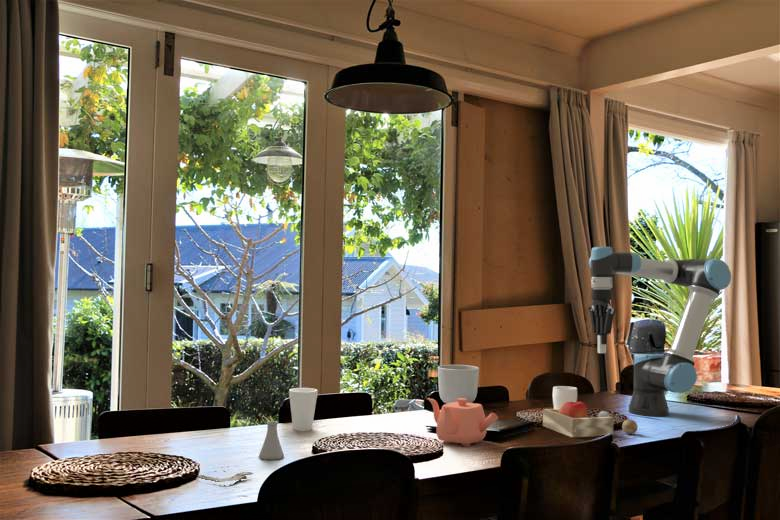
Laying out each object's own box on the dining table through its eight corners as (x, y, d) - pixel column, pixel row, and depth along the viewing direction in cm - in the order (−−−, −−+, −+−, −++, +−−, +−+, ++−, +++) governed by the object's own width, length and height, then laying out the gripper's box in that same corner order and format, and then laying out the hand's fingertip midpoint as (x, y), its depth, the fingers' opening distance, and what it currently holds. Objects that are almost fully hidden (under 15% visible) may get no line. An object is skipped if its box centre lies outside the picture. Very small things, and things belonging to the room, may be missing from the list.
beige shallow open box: (581, 424, 277) (582, 407, 277) (613, 435, 259) (613, 417, 259) (542, 426, 272) (543, 409, 272) (572, 437, 254) (572, 419, 254)
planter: (433, 400, 321) (434, 364, 321) (473, 401, 323) (474, 364, 323) (440, 408, 304) (441, 369, 304) (482, 408, 306) (483, 370, 306)
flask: (259, 454, 221) (260, 419, 221) (285, 454, 221) (285, 419, 221) (257, 460, 213) (258, 424, 214) (283, 460, 214) (284, 424, 214)
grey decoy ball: (605, 422, 283) (605, 409, 283) (612, 424, 278) (613, 412, 278) (595, 422, 281) (595, 410, 281) (602, 425, 277) (602, 412, 277)
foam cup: (321, 427, 260) (322, 389, 260) (307, 432, 252) (308, 393, 252) (297, 424, 264) (298, 387, 264) (282, 429, 256) (283, 390, 256)
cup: (574, 418, 289) (575, 386, 289) (578, 422, 280) (579, 390, 280) (550, 417, 290) (551, 385, 290) (553, 421, 281) (554, 389, 281)
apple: (583, 427, 271) (583, 399, 272) (590, 433, 262) (590, 403, 262) (555, 426, 271) (556, 398, 272) (562, 432, 262) (562, 403, 262)
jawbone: (240, 492, 187) (240, 483, 186) (162, 487, 190) (162, 478, 190) (253, 479, 195) (253, 471, 195) (178, 474, 199) (178, 467, 199)
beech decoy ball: (631, 432, 265) (631, 417, 265) (640, 435, 260) (640, 420, 261) (619, 432, 264) (619, 418, 264) (628, 435, 259) (628, 421, 259)
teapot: (442, 449, 232) (443, 404, 232) (425, 436, 250) (426, 394, 250) (498, 448, 236) (499, 403, 236) (478, 435, 254) (479, 393, 254)
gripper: (582, 288, 286) (582, 351, 286) (604, 289, 274) (604, 355, 273) (599, 288, 289) (599, 350, 288) (621, 289, 276) (621, 354, 276)
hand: (601, 352), depth 281 cm, fingers closed
